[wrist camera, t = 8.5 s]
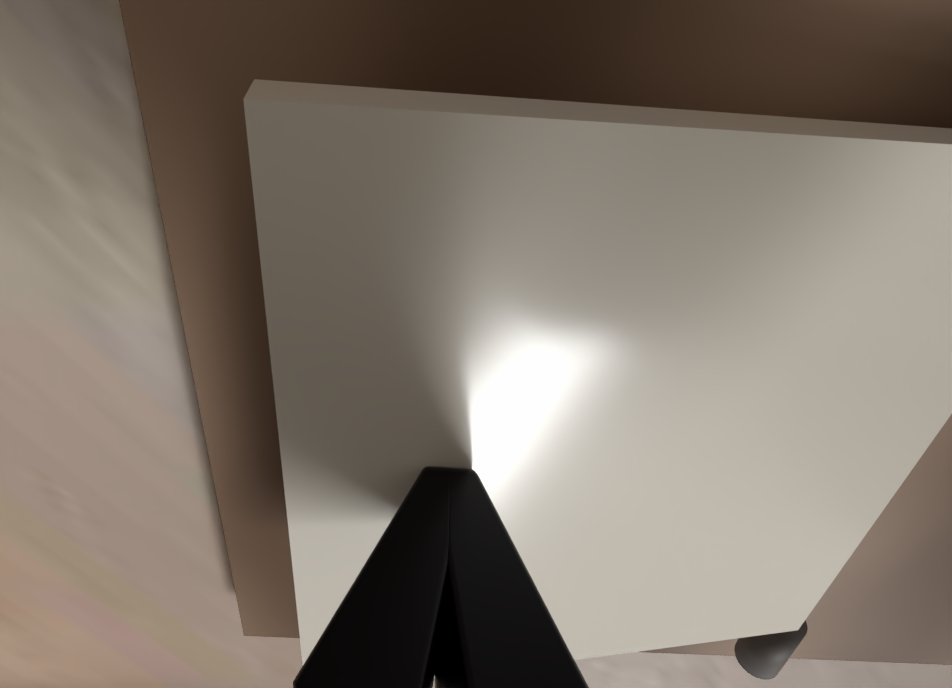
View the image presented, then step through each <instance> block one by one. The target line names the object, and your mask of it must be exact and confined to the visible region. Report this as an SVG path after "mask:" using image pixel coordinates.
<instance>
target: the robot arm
mask: <svg viewBox="0 0 952 688" xmlns="http://www.w3.org/2000/svg"><path fill="white" fill-rule="evenodd" d="M434 675H435V688H589V687H588V685H587V683H586V681H585V679H584V678H583V676H582V674H581V672H580V670H579V668H578V666H577V664H576V662H575V660H574V658H573V656H572V654H571V653H570V651H569V649H568V647H567V645H566V643H565V641H564V639H563V637H562V635H561V633H560V631H559V629H558V628H557V626H556V624H555V622H554V620H553V618H552V616H551V614H550V612H549V610H548V608H547V606H546V604H545V603H544V601H543V599H542V597H541V595H540V593H539V591H538V589H537V587H536V585H535V583H534V581H533V579H532V578H531V576H530V574H529V572H528V570H527V568H526V566H525V564H524V562H523V560H522V558H521V556H520V555H519V553H518V551H517V549H516V547H515V545H514V543H513V541H512V539H511V537H510V535H509V533H508V531H507V530H506V528H505V526H504V524H503V522H502V520H501V518H500V516H499V514H498V512H497V510H496V508H495V506H494V505H493V503H492V501H491V499H490V497H489V495H488V493H487V491H486V489H485V487H484V485H483V483H482V481H481V480H480V478H479V476H478V474H477V473H476V471H474V470H473V469H465V468H451V467H437V466H426V467H424V468H423V469H422V471H421V472H420V474H419V476H418V477H417V479H416V481H415V482H414V484H413V485H412V487H411V489H410V490H409V492H408V494H407V495H406V497H405V499H404V500H403V502H402V504H401V505H400V507H399V508H398V510H397V512H396V513H395V515H394V517H393V518H392V520H391V522H390V523H389V525H388V527H387V528H386V530H385V532H384V533H383V535H382V536H381V538H380V540H379V541H378V543H377V545H376V546H375V548H374V550H373V551H372V553H371V555H370V556H369V558H368V559H367V561H366V563H365V564H364V566H363V568H362V569H361V571H360V573H359V574H358V576H357V578H356V579H355V581H354V583H353V584H352V586H351V587H350V589H349V591H348V592H347V594H346V596H345V597H344V599H343V601H342V602H341V604H340V606H339V607H338V609H337V610H336V612H335V614H334V615H333V617H332V619H331V620H330V622H329V624H328V625H327V627H326V629H325V630H324V632H323V634H322V635H321V637H320V638H319V640H318V642H317V643H316V645H315V647H314V648H313V650H312V652H311V653H310V655H309V657H308V658H307V660H306V661H305V663H304V665H303V666H302V668H301V670H300V671H299V673H298V675H297V676H296V678H295V680H294V681H293V688H432V687H433V681H434Z"/></svg>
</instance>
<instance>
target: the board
mask: <svg viewBox="0 0 952 688" xmlns="http://www.w3.org/2000/svg"><path fill="white" fill-rule="evenodd" d="M119 2H120V7H121V12H122V17H123V22H124V27H125V32H126V37H127V42H128V47H129V52H130V58H131V63H132V68H133V73H134V78H135V83H136V88H137V93H138V98H139V103H140V108H141V114H142V119H143V124H144V129H145V134H146V139H147V144H148V149H149V154H150V159H151V164H152V170H153V175H154V180H155V185H156V190H157V195H158V200H159V205H160V210H161V215H162V220H163V226H164V231H165V236H166V241H167V246H168V251H169V256H170V261H171V266H172V271H173V276H174V282H175V287H176V292H177V297H178V302H179V307H180V312H181V317H182V322H183V327H184V332H185V338H186V343H187V348H188V353H189V358H190V363H191V368H192V373H193V378H194V383H195V389H196V394H197V399H198V404H199V409H200V414H201V419H202V424H203V429H204V434H205V439H206V445H207V450H208V455H209V460H210V465H211V470H212V475H213V480H214V485H215V490H216V495H217V501H218V506H219V511H220V516H221V521H222V526H223V531H224V536H225V541H226V546H227V551H228V557H229V562H230V567H231V572H232V577H233V582H234V587H235V592H236V597H237V602H238V607H239V613H240V618H241V623H242V628H243V633H244V636H264V637H288V638H300V635H299V625H298V616H297V606H296V597H295V587H294V577H293V568H292V558H291V549H290V539H289V530H288V520H287V511H286V501H285V492H284V482H283V473H282V463H281V454H280V444H279V434H278V425H277V415H276V406H275V396H274V387H273V377H272V368H271V358H270V349H269V339H268V330H267V320H266V311H265V301H264V291H263V282H262V272H261V263H260V253H259V244H258V234H257V225H256V215H255V206H254V196H253V187H252V177H251V168H250V158H249V148H248V139H247V129H246V120H245V110H244V101H243V99H244V97H245V95H246V93H247V92H248V90H249V88H250V86H251V84H252V82H253V81H254V79H258V80H272V81H286V82H300V83H315V84H329V85H343V86H357V87H371V88H385V89H399V90H414V91H428V92H442V93H456V94H470V95H484V96H499V97H513V98H527V99H541V100H555V101H569V102H583V103H598V104H612V105H626V106H640V107H654V108H668V109H683V110H697V111H711V112H725V113H739V114H753V115H767V116H782V117H796V118H810V119H824V120H838V121H852V122H866V123H881V124H895V125H909V126H923V127H937V128H951V129H952V0H119ZM640 652H651V653H675V654H700V655H724V656H736V658H737V660H738V662H739V663H740V665H741V666H742V667H743V668H744V669H745V670H746V671H747V672H748V673H750V674H751V675H753V676H755V677H757V678H760V679H772V678H774V677H775V676H776V675H777V674H778V673H779V671H780V670H781V668H782V667H783V666H784V664H785V663H786V662H787V660H788V659H789V658H797V659H821V660H845V661H869V662H893V663H918V664H942V665H952V414H951V415H950V417H949V418H948V420H947V421H946V423H945V424H944V425H943V427H942V428H941V430H940V431H939V432H938V434H937V435H936V437H935V438H934V439H933V441H932V442H931V444H930V445H929V446H928V448H927V449H926V451H925V452H924V454H923V455H922V456H921V458H920V459H919V461H918V462H917V463H916V465H915V466H914V468H913V469H912V470H911V472H910V473H909V475H908V476H907V477H906V479H905V480H904V482H903V483H902V485H901V486H900V487H899V489H898V490H897V492H896V493H895V494H894V496H893V497H892V499H891V500H890V501H889V503H888V504H887V506H886V507H885V508H884V510H883V511H882V513H881V514H880V516H879V517H878V518H877V520H876V521H875V523H874V524H873V525H872V527H871V528H870V530H869V531H868V532H867V534H866V535H865V537H864V538H863V539H862V541H861V542H860V544H859V545H858V547H857V548H856V549H855V551H854V552H853V554H852V555H851V556H850V558H849V559H848V561H847V562H846V563H845V565H844V566H843V568H842V569H841V570H840V572H839V573H838V575H837V576H836V578H835V579H834V580H833V582H832V583H831V585H830V586H829V587H828V589H827V590H826V592H825V593H824V594H823V596H822V597H821V599H820V600H819V601H818V603H817V604H816V606H815V607H814V608H813V610H812V611H811V613H810V614H809V616H808V617H807V618H806V620H805V621H804V623H803V624H802V625H801V627H800V628H799V630H796V631H789V632H781V633H774V634H766V635H759V636H751V637H744V638H737V639H729V640H722V641H714V642H707V643H699V644H692V645H684V646H677V647H669V648H662V649H655V650H647V651H640Z"/></svg>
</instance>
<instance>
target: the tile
mask: <svg viewBox="0 0 952 688" xmlns="http://www.w3.org/2000/svg"><path fill="white" fill-rule="evenodd" d="M243 101H244V110H245V120H246V129H247V139H248V148H249V158H250V168H251V177H252V187H253V196H254V206H255V215H256V225H257V234H258V244H259V253H260V263H261V272H262V282H263V291H264V301H265V311H266V320H267V330H268V339H269V349H270V358H271V368H272V377H273V387H274V396H275V406H276V415H277V425H278V434H279V444H280V454H281V463H282V473H283V482H284V492H285V501H286V511H287V520H288V530H289V539H290V549H291V558H292V568H293V577H294V587H295V597H296V606H297V616H298V625H299V635H300V644H301V654H302V663H303V665H304V663H305V661H306V660H307V658H308V657H309V655H310V653H311V652H312V650H313V648H314V647H315V645H316V643H317V642H318V640H319V638H320V637H321V635H322V634H323V632H324V630H325V629H326V627H327V625H328V624H329V622H330V620H331V619H332V617H333V615H334V614H335V612H336V610H337V609H338V607H339V606H340V604H341V602H342V601H343V599H344V597H345V596H346V594H347V592H348V591H349V589H350V587H351V586H352V584H353V583H354V581H355V579H356V578H357V576H358V574H359V573H360V571H361V569H362V568H363V566H364V564H365V563H366V561H367V559H368V558H369V556H370V555H371V553H372V551H373V550H374V548H375V546H376V545H377V543H378V541H379V540H380V538H381V536H382V535H383V533H384V532H385V530H386V528H387V527H388V525H389V523H390V522H391V520H392V518H393V517H394V515H395V513H396V512H397V510H398V508H399V507H400V505H401V504H402V502H403V500H404V499H405V497H406V495H407V494H408V492H409V490H410V489H411V487H412V485H413V484H414V482H415V481H416V479H417V477H418V476H419V474H420V472H421V471H422V469H423V468H424V467H426V466H437V467H451V468H465V469H473V470H474V471H476V473H477V474H478V476H479V478H480V480H481V481H482V483H483V485H484V487H485V489H486V491H487V493H488V495H489V497H490V499H491V501H492V503H493V505H494V506H495V508H496V510H497V512H498V514H499V516H500V518H501V520H502V522H503V524H504V526H505V528H506V530H507V531H508V533H509V535H510V537H511V539H512V541H513V543H514V545H515V547H516V549H517V551H518V553H519V555H520V556H521V558H522V560H523V562H524V564H525V566H526V568H527V570H528V572H529V574H530V576H531V578H532V579H533V581H534V583H535V585H536V587H537V589H538V591H539V593H540V595H541V597H542V599H543V601H544V603H545V604H546V606H547V608H548V610H549V612H550V614H551V616H552V618H553V620H554V622H555V624H556V626H557V628H558V629H559V631H560V633H561V635H562V637H563V639H564V641H565V643H566V645H567V647H568V649H569V651H570V653H571V654H572V656H573V658H574V660H580V659H587V658H595V657H602V656H610V655H617V654H625V653H632V652H640V651H647V650H655V649H662V648H669V647H677V646H684V645H692V644H699V643H707V642H714V641H722V640H729V639H737V638H744V637H751V636H759V635H766V634H774V633H781V632H789V631H796V630H799V628H800V627H801V625H802V624H803V623H804V621H805V620H806V618H807V617H808V616H809V614H810V613H811V611H812V610H813V608H814V607H815V606H816V604H817V603H818V601H819V600H820V599H821V597H822V596H823V594H824V593H825V592H826V590H827V589H828V587H829V586H830V585H831V583H832V582H833V580H834V579H835V578H836V576H837V575H838V573H839V572H840V570H841V569H842V568H843V566H844V565H845V563H846V562H847V561H848V559H849V558H850V556H851V555H852V554H853V552H854V551H855V549H856V548H857V547H858V545H859V544H860V542H861V541H862V539H863V538H864V537H865V535H866V534H867V532H868V531H869V530H870V528H871V527H872V525H873V524H874V523H875V521H876V520H877V518H878V517H879V516H880V514H881V513H882V511H883V510H884V508H885V507H886V506H887V504H888V503H889V501H890V500H891V499H892V497H893V496H894V494H895V493H896V492H897V490H898V489H899V487H900V486H901V485H902V483H903V482H904V480H905V479H906V477H907V476H908V475H909V473H910V472H911V470H912V469H913V468H914V466H915V465H916V463H917V462H918V461H919V459H920V458H921V456H922V455H923V454H924V452H925V451H926V449H927V448H928V446H929V445H930V444H931V442H932V441H933V439H934V438H935V437H936V435H937V434H938V432H939V431H940V430H941V428H942V427H943V425H944V424H945V423H946V421H947V420H948V418H949V417H950V415H951V414H952V129H951V128H937V127H923V126H909V125H895V124H881V123H866V122H852V121H838V120H824V119H810V118H796V117H782V116H767V115H753V114H739V113H725V112H711V111H697V110H683V109H668V108H654V107H640V106H626V105H612V104H598V103H583V102H569V101H555V100H541V99H527V98H513V97H499V96H484V95H470V94H456V93H442V92H428V91H414V90H399V89H385V88H371V87H357V86H343V85H329V84H315V83H300V82H286V81H272V80H258V79H254V81H253V82H252V84H251V86H250V88H249V90H248V92H247V93H246V95H245V97H244V99H243ZM434 679H435V675H434Z"/></svg>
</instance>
